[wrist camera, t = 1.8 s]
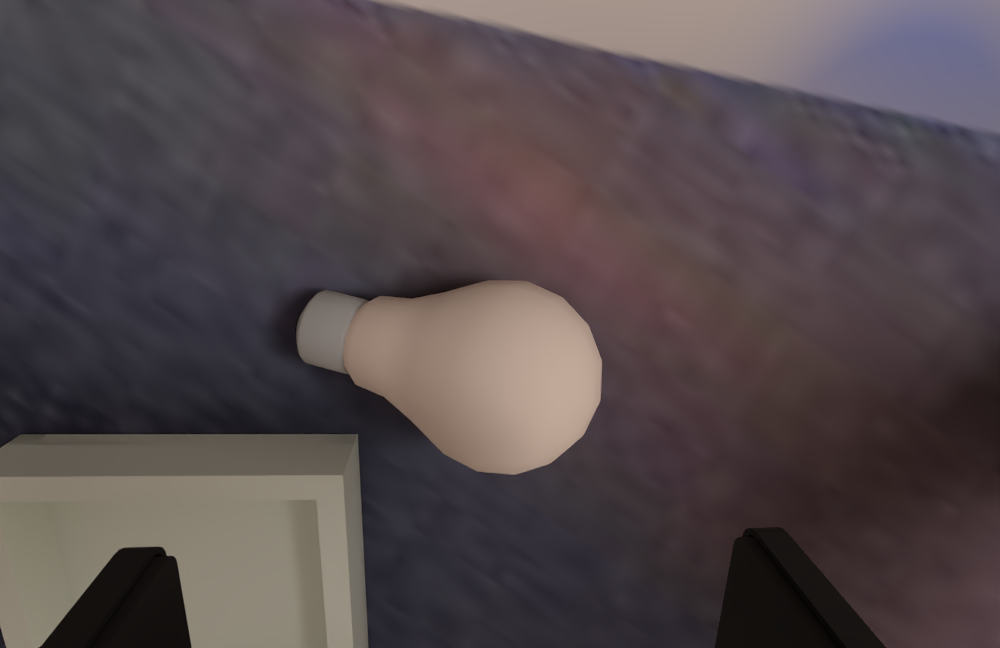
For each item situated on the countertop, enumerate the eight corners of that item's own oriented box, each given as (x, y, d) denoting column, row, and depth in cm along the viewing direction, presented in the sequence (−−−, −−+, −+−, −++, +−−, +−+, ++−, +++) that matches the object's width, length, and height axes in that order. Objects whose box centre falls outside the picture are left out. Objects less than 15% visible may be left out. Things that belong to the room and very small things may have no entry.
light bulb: (225, 430, 18) (571, 534, 16) (264, 221, 17) (629, 306, 16) (325, 393, 24) (580, 465, 23) (356, 240, 24) (621, 301, 22)
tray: (358, 434, 23) (342, 475, 21) (370, 679, 27) (358, 742, 25) (20, 434, 23) (-44, 477, 20) (83, 687, 27) (37, 753, 24)
